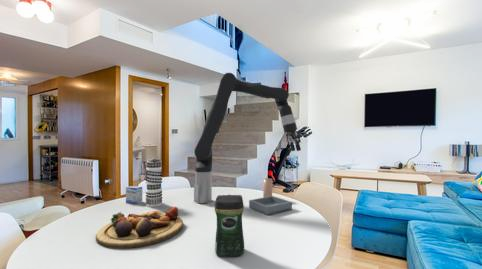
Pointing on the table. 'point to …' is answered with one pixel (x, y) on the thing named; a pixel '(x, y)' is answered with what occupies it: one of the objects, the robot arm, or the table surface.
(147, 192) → the model tower building
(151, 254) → the table surface
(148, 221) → the wooden plate with food
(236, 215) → the coffee jar
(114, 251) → the table surface
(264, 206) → the tray
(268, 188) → the cup
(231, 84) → the robot arm
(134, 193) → the medicine box
